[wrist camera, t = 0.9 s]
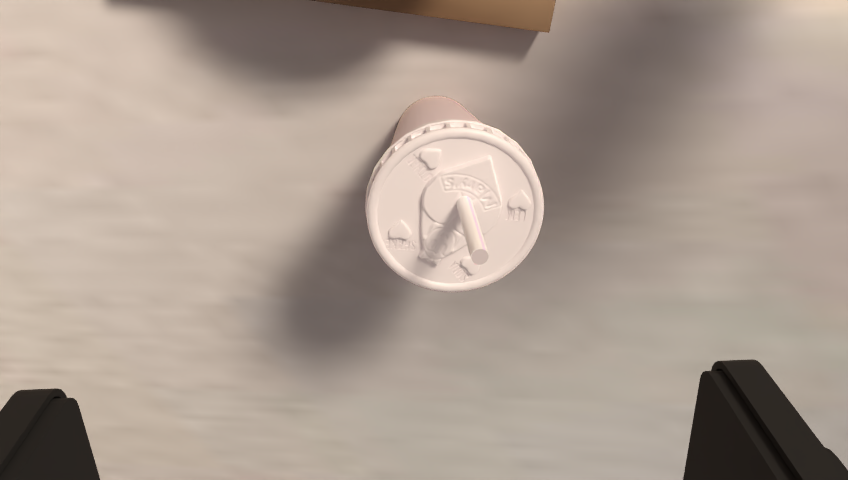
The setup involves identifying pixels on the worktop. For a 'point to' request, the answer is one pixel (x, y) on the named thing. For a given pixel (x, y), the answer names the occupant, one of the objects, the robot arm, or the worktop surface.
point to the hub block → (471, 10)
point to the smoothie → (452, 199)
